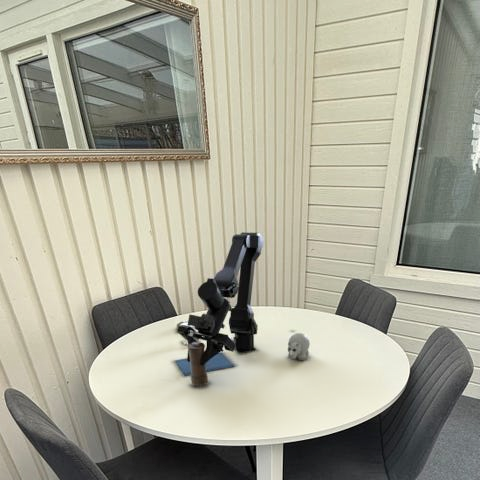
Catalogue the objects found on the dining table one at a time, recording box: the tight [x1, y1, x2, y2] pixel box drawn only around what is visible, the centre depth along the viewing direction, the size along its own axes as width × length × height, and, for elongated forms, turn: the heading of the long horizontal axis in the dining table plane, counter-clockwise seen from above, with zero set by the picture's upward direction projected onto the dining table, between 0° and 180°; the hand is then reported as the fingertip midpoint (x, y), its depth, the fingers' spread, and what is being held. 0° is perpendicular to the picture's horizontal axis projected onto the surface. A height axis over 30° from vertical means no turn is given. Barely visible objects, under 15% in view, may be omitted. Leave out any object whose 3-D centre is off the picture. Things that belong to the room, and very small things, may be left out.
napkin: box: [174, 352, 235, 377], centre depth 140 cm, size 17×13×1 cm
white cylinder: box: [179, 321, 198, 346], centre depth 156 cm, size 7×7×7 cm
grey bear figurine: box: [287, 332, 311, 361], centre depth 138 cm, size 7×12×8 cm, turn 152°
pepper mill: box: [187, 341, 209, 386], centre depth 123 cm, size 5×5×12 cm
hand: (194, 363), depth 122 cm, fingers closed on pepper mill, 4 cm apart
